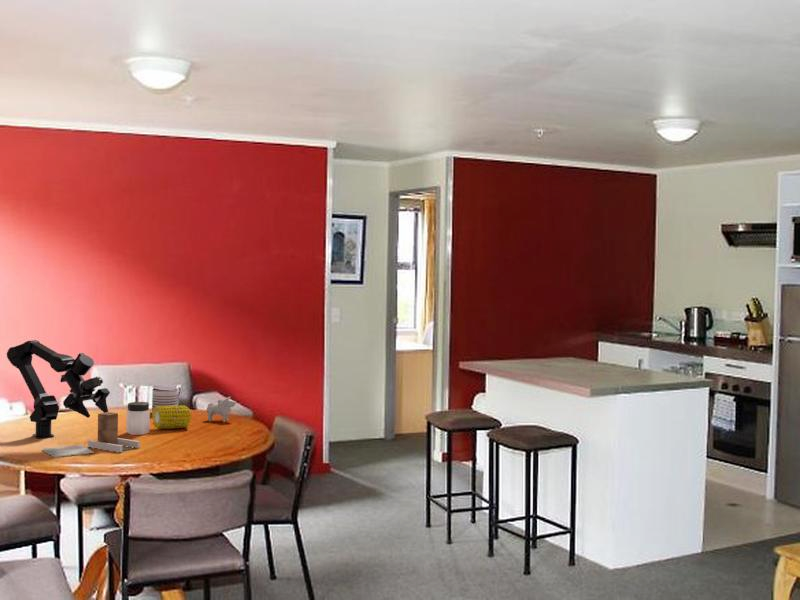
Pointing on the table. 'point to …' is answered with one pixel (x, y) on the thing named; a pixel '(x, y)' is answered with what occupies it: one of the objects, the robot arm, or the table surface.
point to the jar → (138, 418)
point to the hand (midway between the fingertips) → (98, 415)
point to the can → (164, 396)
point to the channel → (115, 447)
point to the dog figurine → (220, 408)
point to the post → (108, 427)
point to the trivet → (67, 450)
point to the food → (171, 416)
